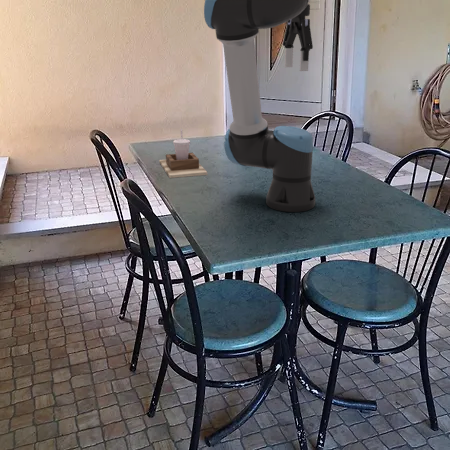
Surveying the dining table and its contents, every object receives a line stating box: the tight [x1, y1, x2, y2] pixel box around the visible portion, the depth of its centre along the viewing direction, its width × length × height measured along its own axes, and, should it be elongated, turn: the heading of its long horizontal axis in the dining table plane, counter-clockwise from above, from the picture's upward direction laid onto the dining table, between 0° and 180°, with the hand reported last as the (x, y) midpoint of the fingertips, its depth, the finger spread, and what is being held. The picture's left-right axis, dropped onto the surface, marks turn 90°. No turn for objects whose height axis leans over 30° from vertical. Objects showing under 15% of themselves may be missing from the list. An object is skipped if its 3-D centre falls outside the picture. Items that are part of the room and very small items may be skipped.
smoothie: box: [172, 128, 191, 160], centre depth 198 cm, size 6×6×14 cm
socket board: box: [159, 152, 208, 179], centre depth 201 cm, size 22×14×4 cm, turn 16°
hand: (295, 69), depth 185 cm, fingers open, 13 cm apart
